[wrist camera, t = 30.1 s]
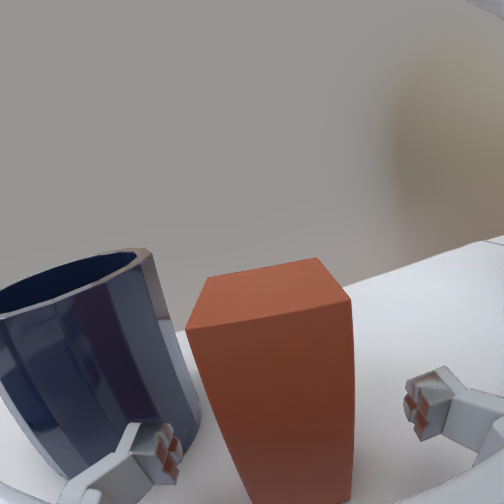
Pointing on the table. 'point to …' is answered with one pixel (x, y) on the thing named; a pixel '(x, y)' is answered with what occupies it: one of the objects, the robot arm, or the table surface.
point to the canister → (92, 358)
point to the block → (280, 378)
